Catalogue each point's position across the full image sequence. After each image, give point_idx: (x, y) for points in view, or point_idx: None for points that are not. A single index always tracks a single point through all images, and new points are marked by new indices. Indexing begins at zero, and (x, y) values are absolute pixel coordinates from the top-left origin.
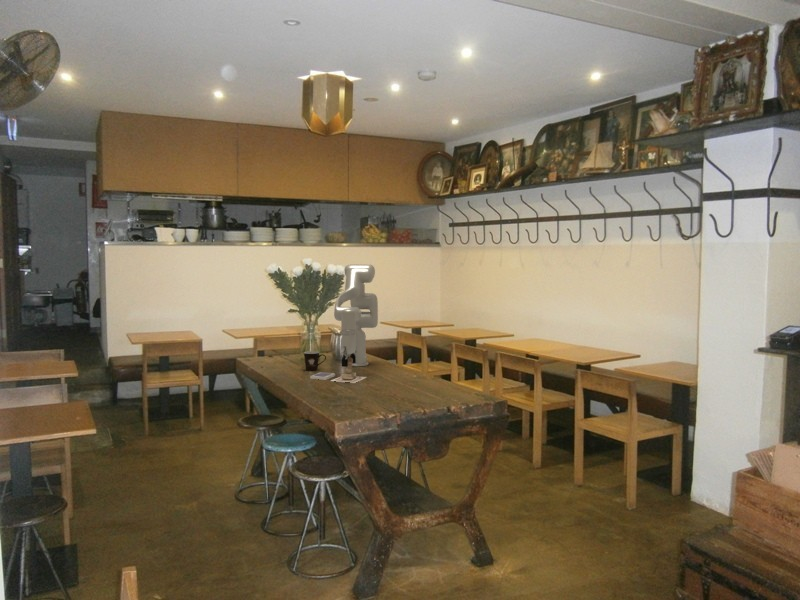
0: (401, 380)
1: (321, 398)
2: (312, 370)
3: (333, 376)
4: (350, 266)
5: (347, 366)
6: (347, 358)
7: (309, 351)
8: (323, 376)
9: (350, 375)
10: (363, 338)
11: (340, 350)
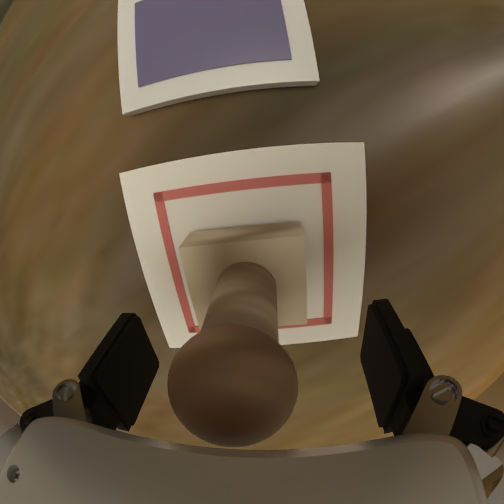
0: (337, 441)
1: None
2: None
3: (281, 86)
4: None
5: (154, 364)
6: (179, 419)
7: None
8: (137, 78)
9: (200, 323)
10: None
11: (6, 464)
